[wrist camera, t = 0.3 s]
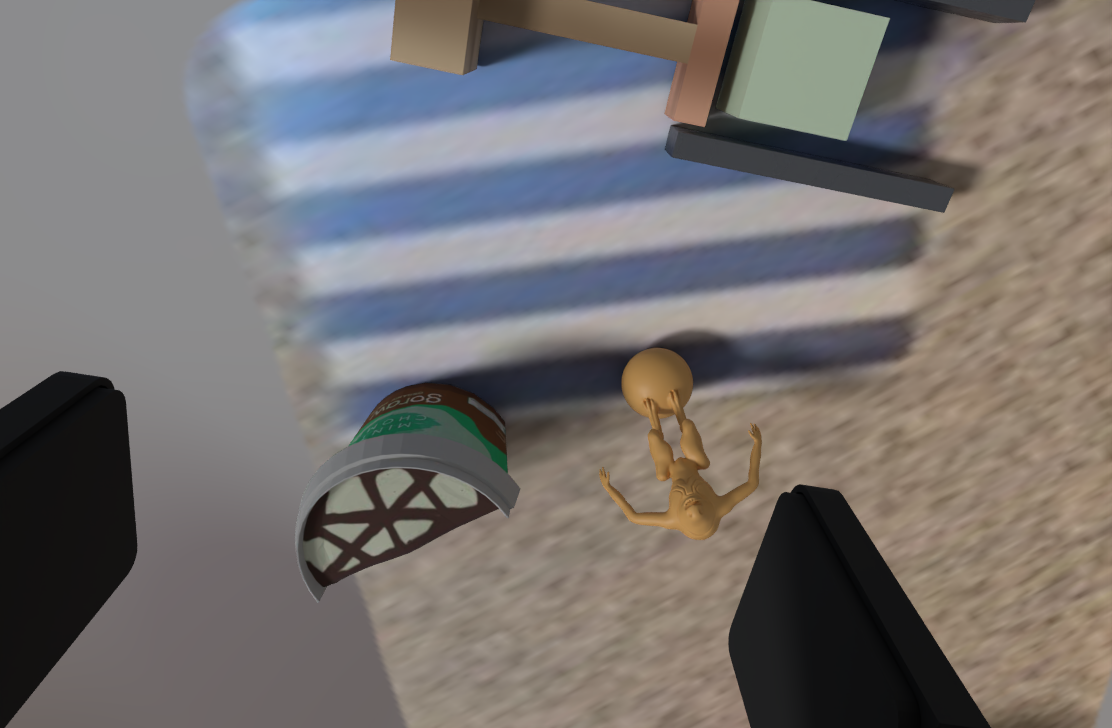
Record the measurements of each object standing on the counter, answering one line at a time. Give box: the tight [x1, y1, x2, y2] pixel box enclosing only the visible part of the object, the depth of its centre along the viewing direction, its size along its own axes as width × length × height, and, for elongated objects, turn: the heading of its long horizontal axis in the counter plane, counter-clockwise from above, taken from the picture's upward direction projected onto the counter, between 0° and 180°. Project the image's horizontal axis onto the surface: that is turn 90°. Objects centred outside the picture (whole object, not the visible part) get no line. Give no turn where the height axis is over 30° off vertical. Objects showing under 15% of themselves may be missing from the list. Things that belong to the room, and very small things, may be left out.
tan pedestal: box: [390, 0, 739, 127], centre depth 31 cm, size 6×14×6 cm, turn 79°
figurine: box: [599, 348, 762, 540], centre depth 37 cm, size 8×6×12 cm
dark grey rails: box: [665, 0, 1035, 213], centre depth 34 cm, size 10×14×2 cm
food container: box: [295, 383, 520, 602], centre depth 38 cm, size 12×6×10 cm, turn 118°
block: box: [716, 0, 890, 141], centre depth 33 cm, size 5×5×5 cm
